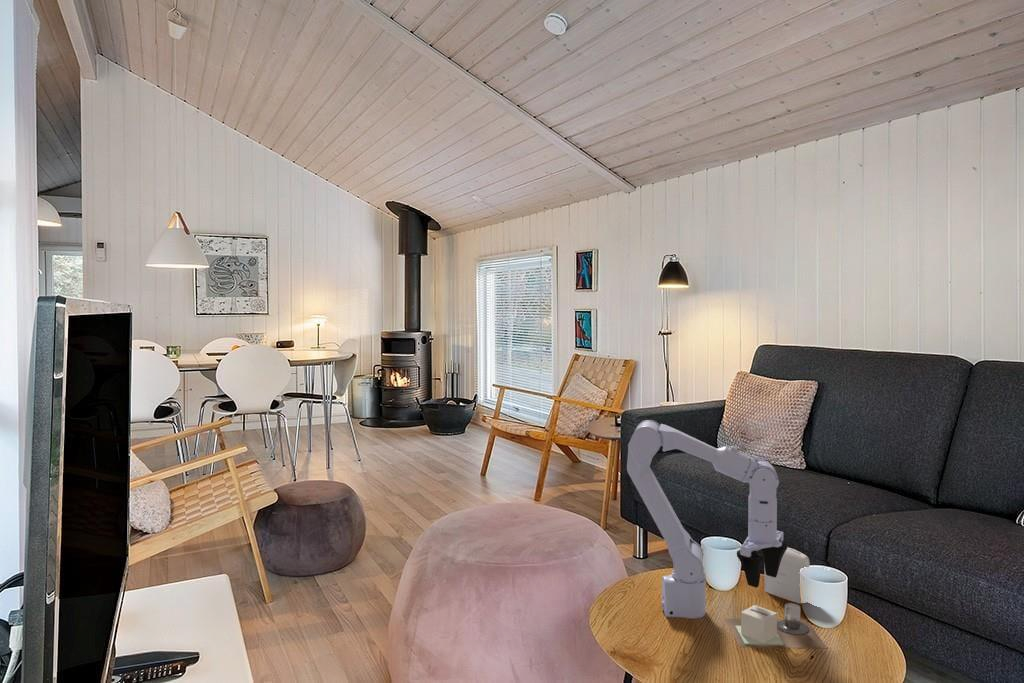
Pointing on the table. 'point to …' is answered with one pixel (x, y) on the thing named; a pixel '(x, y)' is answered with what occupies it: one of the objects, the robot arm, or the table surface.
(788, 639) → the board
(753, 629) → the slotted tissue box
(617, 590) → the table surface
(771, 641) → the mat
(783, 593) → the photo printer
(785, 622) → the post
